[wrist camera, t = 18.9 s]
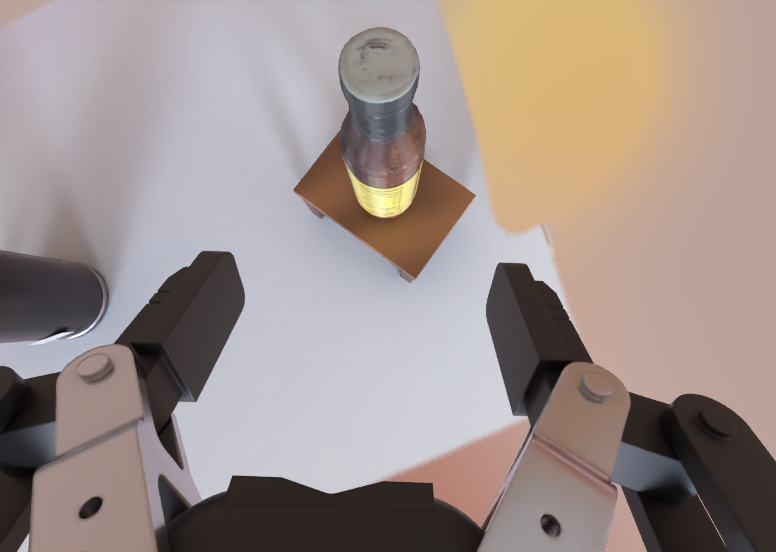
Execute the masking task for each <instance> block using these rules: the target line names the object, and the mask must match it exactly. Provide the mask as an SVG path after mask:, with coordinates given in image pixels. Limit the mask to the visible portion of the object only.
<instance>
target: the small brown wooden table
mask: <svg viewBox="0 0 776 552" xmlns="http://www.w3.org/2000/svg"><path fill="white" fill-rule="evenodd" d="M293 191H294V192H295V193H296V194H297V195H298V196H299V197H301V198H302V199H303V200H304V202H305V203H306V204H307V206H308V207H309V208H310V210H311V211H312V212H313V213H314V214H316V215H317V216H318V217H320V218H321V219H322V218H323V216H324V215H326V216H327V217H328V218H330V219H331V220H333V221H334V222H335V223H337V224H338V225H340V226H341V227H342V228H344V229H345V230H346V231H348V232H349V233H351V234H352V235H353V236H355V237H356V238H358V239H359V240H360V241H362V242H363V243H364V244H366V245H367V246H369V247H370V248H371V249H373V250H374V251H375V252H377V253H378V254H380V255H381V256H382V257H384V258H385V259H387V260H388V261H389V262H391V263H392V264H393V265H395V266H396V267H398V268H399V269H400V270H402V271H401V274H400V276H401V277H402V278H404V279H405V280H407V281H408V282H409V283H411V281H412V280H413V279H414V280H415V279H416V278H417V276H418V275H419V274H420V272H421V271H422V270H423V268H424V267H425V265H426V264H427V263H428V261H429V260H430V259H431V257H432V256H433V254H434V253H435V252H436V250H437V249H438V248H439V246H440V245H441V243H442V242H443V241H444V239H445V238H446V236H447V235H448V234H449V232H450V231H451V230H452V228H453V227H454V225H455V224H456V223H457V221H458V220H459V219H460V217H461V216H462V214H463V213H464V212H465V210H466V209H467V208H468V206H469V205H470V203H471V202H472V201H473V199H474V198H475V196H476V195H475V194H473V193H472V192H470V191H469V190H467V189H466V188H465V187H463V186H462V185H460V184H459V183H457V182H456V181H454V180H453V179H452V178H450V177H449V176H447V175H446V174H444V173H443V172H442V171H440V170H439V169H437V168H436V167H434V166H433V165H431V164H430V163H429V162H427V161H426V160H424V159H423V162H422V167H421V172H420V176H419V181H418V186H417V190H416V194H415V197H414V199H413V201H412V203H411V204H410V206H409V207H408V208H407V209H406V210H405V211H404V212H403V213H401V214H400V215H398V216H397V217H394V218H381V217H376V216H373V215H371V214H370V213H368V212H367V211H366V210H365V209H364V208H363V207H362V206H361V205H360V203H359V202H358V200H357V197H356V195H355V192H354V189H353V186H352V183H351V180H350V177H349V174H348V171H347V168H346V165H345V162H344V159H343V156H342V153H341V148H340V131H339V133H338V134H337V135H336V136H335V138H334V139H333V140H332V141H331V143H330V144H329V145H328V146H327V148H326V149H325V150H324V152H323V153H322V154H321V155H320V157H319V158H318V159H317V160H316V162H315V163H314V164H313V166H312V167H311V168H310V169H309V171H308V172H307V173H306V174H305V176H304V177H303V178H302V179H301V181H300V182H299V183H298V185H297V186H296V187H295V188H294V190H293Z"/></svg>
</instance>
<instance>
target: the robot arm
mask: <svg viewBox="0 0 776 552" xmlns="http://www.w3.org/2000/svg"><path fill="white" fill-rule="evenodd" d="M244 302H245V293H244V288H243V285H242V282H241V278H240V275H239V272H238V269H237V265H236V262H235V259H234V256H233V255H232V253H230V252H221V251H202V252H201V253H200V254H199V255H198V256H197V257H196V259H195V260H194V261H193V263H192V264H191V265H190V266H189V267H184V268H182V269H181V270H179V271H178V272H176V273H175V274H173V275H172V276H170V277H169V278H168V279H167V280H166V281H165V282H164V283H163V285H162V286H161V287H160V288H159V290H158V293H155V294H154V296H153V297H152V298H151V299H150V300H149V304H146V305H145V306H144V308H143V309H142V310H141V311H140V312H139V314H138V315H137V316H136V317H135V319H134V320H133V321H132V322H131V323H130V325H129V326H128V327H127V328H126V329H125V331H124V332H123V333H122V334H121V335H120V337H119V338H118V339H117V340H116V341H115V343H114V344H110V345H104V346H100V347H97V348H94V349H91V350H89V351H87V352H85V353H83V354H81V355H80V356H78V357H76V358H75V359H74V360H72V361H71V362H70V363H69V364H68V365H67V366H66V367H65V368H64V369H63V370H62V371H61V372H57V373H52V374H48V375H43V376H38V377H33V378H29V379H24V380H23V379H22V378H21V377H20V376H19V375H18V374H17V373H16V372H15V371H14V370H13V369H11V368H9V367H5V366H0V552H17V551H18V549H19V548H20V546H21V544H22V543H23V541H24V540H25V538H26V537H27V535H28V533H29V532H30V533H29V550H28V552H604V551H605V547H606V543H607V539H608V535H609V531H610V527H611V522H612V518H613V514H614V510H615V505H616V501H617V488H616V486H615V485H613V484H611V482H614V483H617V484H619V485H621V487H622V490H623V492H624V495H625V497H626V500H627V502H628V505H629V507H630V510H631V512H632V515H633V517H634V520H635V522H636V525H637V527H638V530H639V532H640V535H641V537H642V540H643V542H644V545H645V547H646V550H647V552H776V461H775V460H774V459H773V457H772V456H771V455H770V453H769V452H768V451H767V449H766V448H765V447H764V445H763V444H762V443H761V441H760V440H759V439H758V438H757V436H756V435H755V434H754V432H753V431H752V430H751V428H750V427H749V426H748V425H747V423H746V422H745V421H744V420H743V419H742V418H741V417H740V416H738V415H737V414H736V413H735V412H734V411H732V410H731V409H729V408H728V407H726V406H725V405H723V404H721V403H720V402H718V401H715V400H713V399H711V398H708V397H705V396H702V395H697V394H684V395H681V396H679V397H678V398H676V400H674V401H673V403H672V404H671V405H670V404H666V403H663V402H660V401H656V400H653V399H650V398H646V397H643V396H640V395H637V394H634V393H631V392H628V391H627V389H626V387H625V386H624V384H623V383H622V382H621V381H620V380H619V379H618V378H617V377H616V376H615V375H614V374H612V373H611V372H609V371H608V370H606V369H604V368H602V367H600V366H598V365H595V364H594V363H593V361H592V359H591V358H590V356H589V354H588V352H587V350H586V348H585V346H584V344H583V343H582V341H581V339H580V337H579V335H578V333H577V331H576V329H575V328H574V326H573V324H572V322H571V321H569V316H568V314H567V313H566V311H565V309H563V305H562V303H561V301H560V300H559V298H558V296H557V294H556V293H555V292H554V291H553V290H552V289H551V288H550V287H549V286H548V285H547V284H545V283H544V282H543V281H535V280H534V278H533V276H532V274H531V272H530V270H529V268H528V266H527V265H526V264H523V263H499V264H498V265H497V267H496V270H495V274H494V278H493V281H492V285H491V288H490V292H489V295H488V299H487V304H486V317H487V322H488V325H489V329H490V333H491V336H492V340H493V344H494V347H495V351H496V355H497V358H498V362H499V366H500V369H501V373H502V377H503V380H504V384H505V387H506V391H507V395H508V398H509V402H510V406H511V409H512V413H513V415H514V416H528V418H529V422H530V425H531V427H530V429H529V431H528V433H527V435H526V437H525V439H524V441H523V443H522V445H521V447H520V449H519V451H518V453H517V455H516V457H515V459H514V462H513V463H512V465H511V467H510V469H509V471H508V473H507V475H506V477H505V479H504V481H503V484H502V485H501V487H500V489H499V491H498V493H497V495H496V497H495V499H494V501H493V503H492V505H491V506H490V508H489V510H488V512H487V514H486V516H485V518H484V520H483V522H482V524H481V526H480V527H479V526H478V525H477V524H476V523H475V522H474V521H472V520H471V519H470V518H469V517H468V516H467V515H466V514H464V513H463V512H461V511H460V510H458V509H457V508H455V507H454V506H452V505H450V504H448V503H446V502H444V501H442V500H439V499H437V498H434V497H433V483H414V482H388V481H383V482H379V483H375V484H371V485H367V486H363V487H359V488H355V489H351V490H347V491H343V492H339V493H334V494H328V493H324V492H322V491H319V490H316V489H313V488H310V487H308V486H305V485H302V484H299V483H296V482H293V481H291V480H288V479H285V478H282V477H258V476H232V479H231V482H230V485H229V487H228V490H227V491H225V492H222V493H219V494H216V495H214V496H211V497H209V498H207V499H205V500H203V501H202V499H201V497H200V494H199V492H198V490H197V488H196V486H195V484H194V482H193V479H192V476H191V473H190V470H189V466H188V462H187V458H186V454H185V451H184V447H183V443H182V439H181V435H180V431H179V428H178V424H177V420H176V417H175V414H174V413H173V411H174V409H175V407H176V405H177V403H178V402H179V401H182V402H196V401H197V399H198V397H199V395H200V393H201V391H202V389H203V387H204V385H205V383H206V382H207V380H208V378H209V376H210V374H211V372H212V370H213V368H214V366H215V364H216V362H217V360H218V358H219V356H220V354H221V352H222V350H223V348H224V346H225V344H226V342H227V340H228V338H229V336H230V334H231V332H232V330H233V328H234V326H235V324H236V322H237V320H238V318H239V316H240V314H241V312H242V310H243V307H244ZM107 305H108V290H107V286H106V283H105V281H104V279H103V278H102V276H101V275H100V274H99V273H98V272H97V271H96V270H94V269H93V268H91V267H89V266H87V265H84V264H79V263H71V262H63V261H61V260H57V259H51V258H45V257H39V256H32V255H26V254H20V253H14V252H8V251H2V250H0V343H10V342H23V341H37V340H41V341H38V342H36V343H33V344H30V345H34V344H43V343H46V342H49V341H51V340H54V339H73V338H77V337H80V336H83V335H85V334H87V333H88V332H90V331H91V330H93V329H94V328H95V327H96V326H97V325H98V324H99V322H100V321H101V320H102V318H103V316H104V314H105V312H106V309H107ZM697 494H698V495H699V497H700V499H701V500H702V502H703V504H704V506H705V508H706V509H707V511H708V513H709V515H710V517H711V518H712V520H713V522H714V524H715V526H716V528H717V529H718V531H719V533H720V535H721V537H722V539H723V541H724V543H725V545H726V546H725V545H724V543H723V541H722V539H721V537H720V536H719V534H718V532H717V530H716V528H715V526H714V524H713V523H712V521H711V519H710V517H709V516H708V514H707V512H706V510H705V508H704V506H703V504H702V503H701V501H700V499H699V497H698V495H697Z"/></svg>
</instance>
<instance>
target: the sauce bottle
mask: <svg viewBox="0 0 776 552" xmlns="http://www.w3.org/2000/svg"><path fill="white" fill-rule="evenodd" d="M419 70H420V64H419V58H418V55H417V52H416V49H415V48H414V46H413V45H412V43H411V41H410V40H409V39H408V38H407V37H406V36H404V35H402V34H401V33H399V32H398V31H396V30H393V29H389V28H383V27H378V28H372V29H368V30H365V31H363V32H361V33H359V34H357V35H355V36H354V37H352V38H351V39H350V40H349V41H348V42H347V43H346V44H345V46H344V48H343V49H342V51H341V54H340V58H339V77H340V84H341V89H342V92H343V94H344V96H345V98H346V100H347V101H348V104H349V111H348V113H347V115H346V118H345V119H344V121H343V124H342V126H341V130H340V148H341V153H342V156H343V159H344V162H345V165H346V168H347V171H348V174H349V177H350V180H351V183H352V186H353V189H354V192H355V195H356V197H357V200H358V202H359V203H360V205H361V206H362V207H363V208H364V209H365V210H366V211H367V212H368V213H370V214H371V215H373V216H376V217H381V218H394V217H397V216H398V215H400V214H401V213H403V212H404V211H405V210H406V209H407V208H408V207H409V206H410V204H411V203H412V201H413V199H414V197H415V194H416V190H417V186H418V181H419V176H420V172H421V167H422V162H423V158H424V147H425V140H426V129H425V124H424V120H423V117H422V115H421V114H420V112H419V110H418V108H417V106H416V105H414V103H412V102H413V98H414V94H415V92H416V89H417V86H418V80H419Z"/></svg>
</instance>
